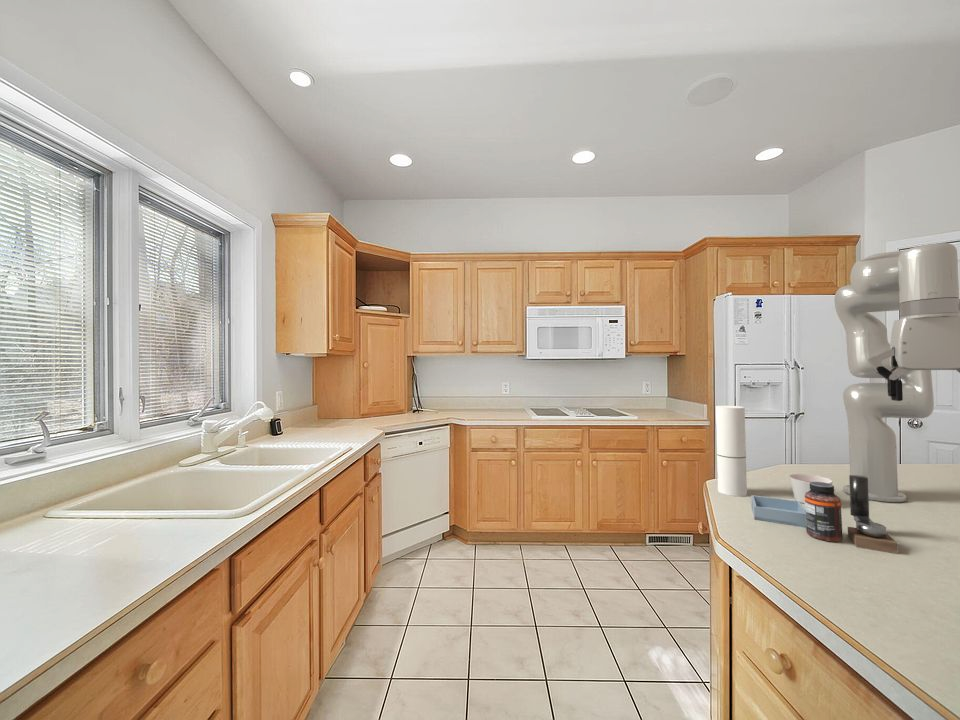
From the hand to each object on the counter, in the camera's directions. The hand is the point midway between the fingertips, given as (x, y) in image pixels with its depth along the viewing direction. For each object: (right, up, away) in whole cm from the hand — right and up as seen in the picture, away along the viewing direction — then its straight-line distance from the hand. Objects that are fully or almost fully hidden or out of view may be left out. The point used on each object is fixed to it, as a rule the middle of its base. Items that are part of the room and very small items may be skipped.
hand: (932, 401), depth 74 cm
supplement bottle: (-11, -31, +10) cm, 34 cm away
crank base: (-5, -30, +7) cm, 31 cm away
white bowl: (+4, -31, +32) cm, 45 cm away
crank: (-3, -28, +10) cm, 30 cm away
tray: (-13, -31, +22) cm, 40 cm away
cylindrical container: (-12, -31, +41) cm, 53 cm away
